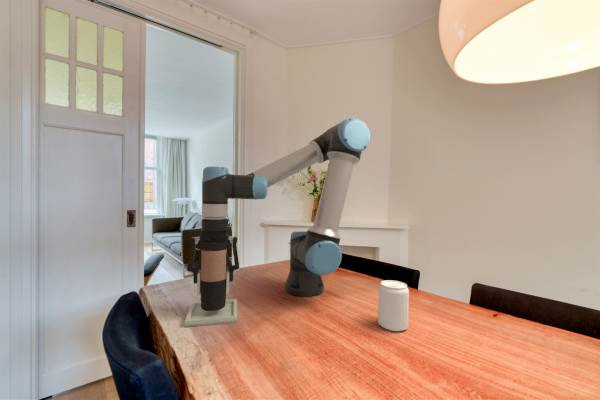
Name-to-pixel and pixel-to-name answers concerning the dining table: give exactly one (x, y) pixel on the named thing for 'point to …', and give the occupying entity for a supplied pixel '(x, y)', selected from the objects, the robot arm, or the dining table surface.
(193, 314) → the tray
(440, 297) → the dining table surface
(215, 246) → the travel mug
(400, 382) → the dining table surface
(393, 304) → the beverage can
